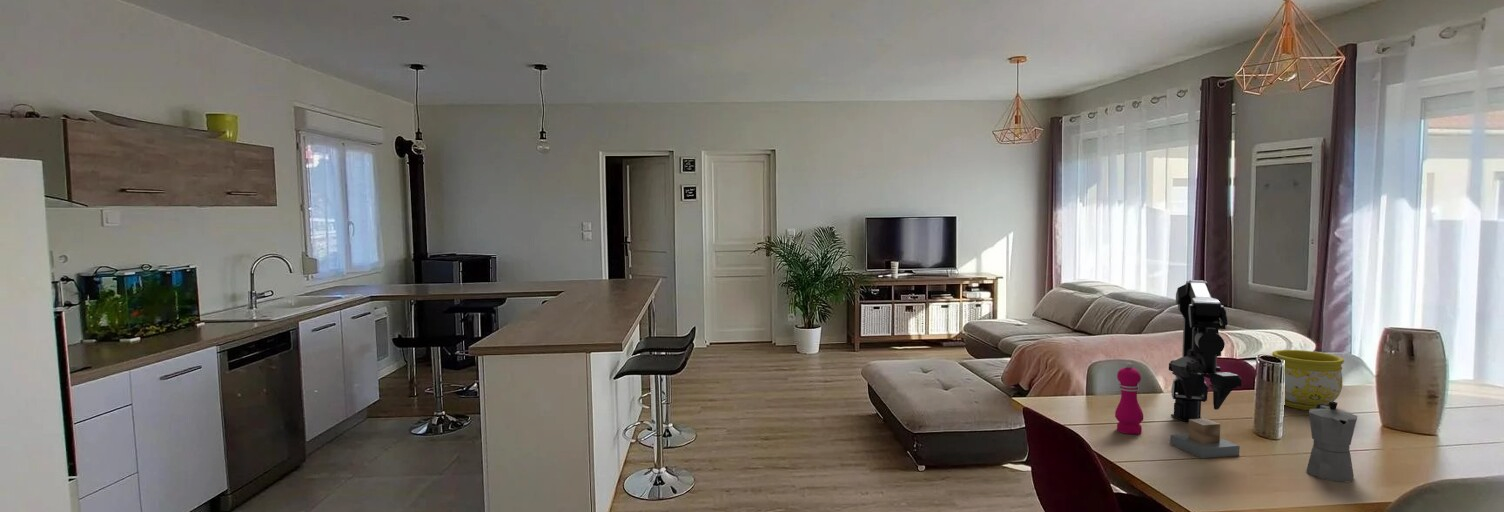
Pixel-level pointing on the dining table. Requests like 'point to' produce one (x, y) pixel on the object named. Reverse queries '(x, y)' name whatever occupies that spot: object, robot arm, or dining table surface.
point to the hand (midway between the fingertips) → (1202, 404)
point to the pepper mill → (1129, 401)
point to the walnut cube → (1204, 431)
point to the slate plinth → (1204, 447)
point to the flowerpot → (1310, 378)
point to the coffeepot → (1331, 443)
